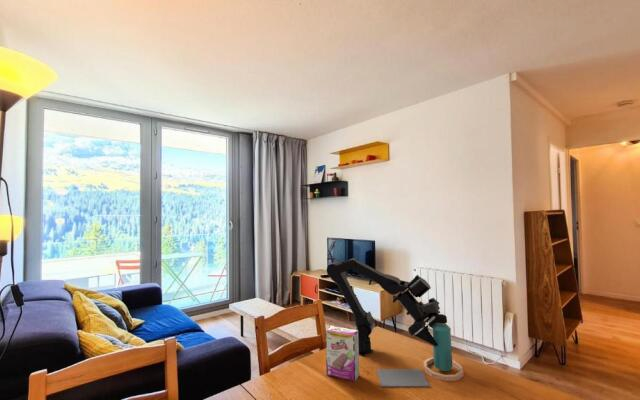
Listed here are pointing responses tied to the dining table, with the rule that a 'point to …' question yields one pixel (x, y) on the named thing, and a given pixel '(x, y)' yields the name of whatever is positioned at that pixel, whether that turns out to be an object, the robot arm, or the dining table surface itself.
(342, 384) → the dining table surface
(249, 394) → the dining table surface
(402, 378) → the rubber mat
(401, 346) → the dining table surface
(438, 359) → the beverage bottle
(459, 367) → the pale pink ring
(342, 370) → the candy bar box
